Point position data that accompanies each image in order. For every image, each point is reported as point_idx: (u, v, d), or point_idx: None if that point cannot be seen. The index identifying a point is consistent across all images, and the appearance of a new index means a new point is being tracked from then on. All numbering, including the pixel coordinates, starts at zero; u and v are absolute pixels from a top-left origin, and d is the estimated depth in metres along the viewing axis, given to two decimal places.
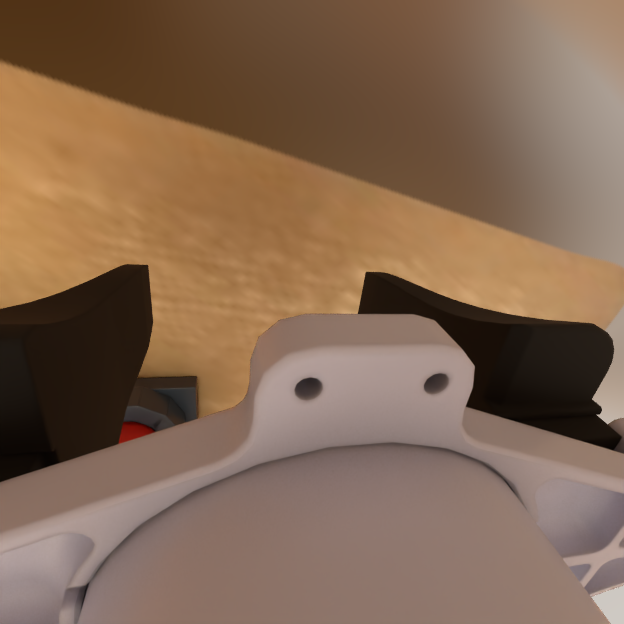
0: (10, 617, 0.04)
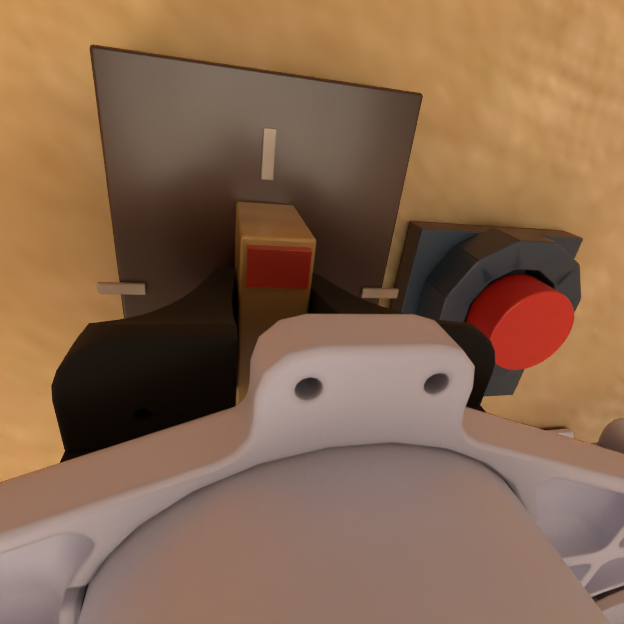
0: (10, 616, 0.04)
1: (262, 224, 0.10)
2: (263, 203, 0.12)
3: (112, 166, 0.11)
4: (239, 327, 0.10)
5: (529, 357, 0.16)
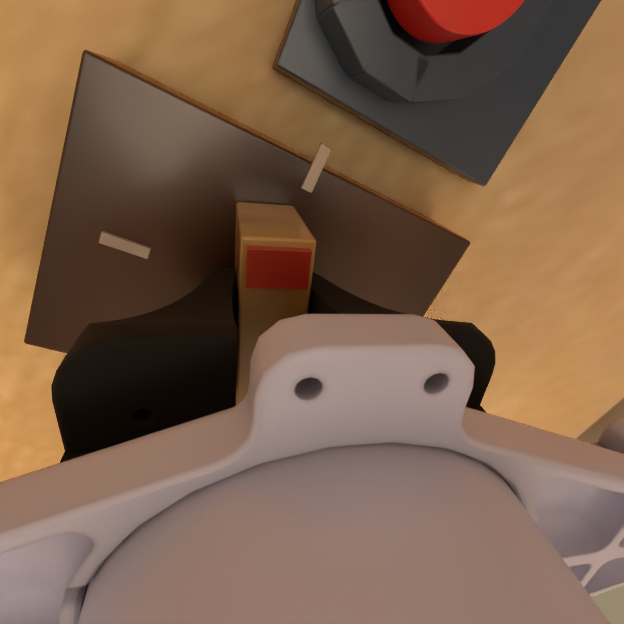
0: (9, 617, 0.04)
1: (262, 225, 0.10)
2: None
3: None
4: (239, 328, 0.10)
5: None
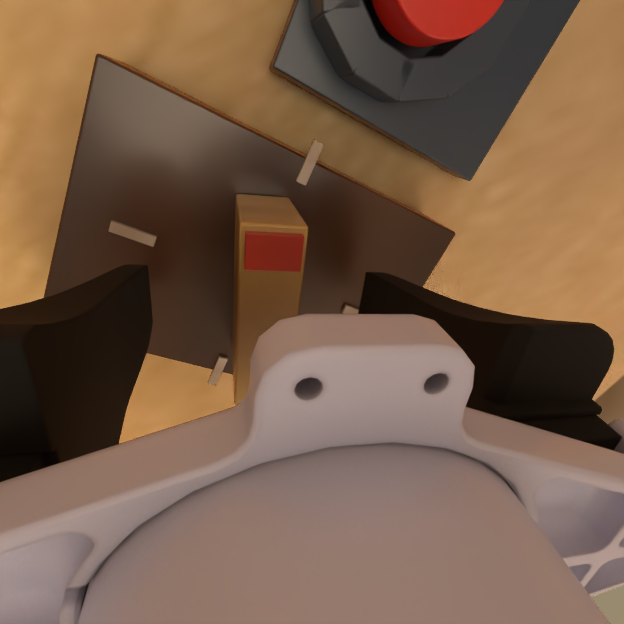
0: (8, 617, 0.04)
1: (259, 213, 0.11)
2: None
3: None
4: (238, 307, 0.11)
5: None
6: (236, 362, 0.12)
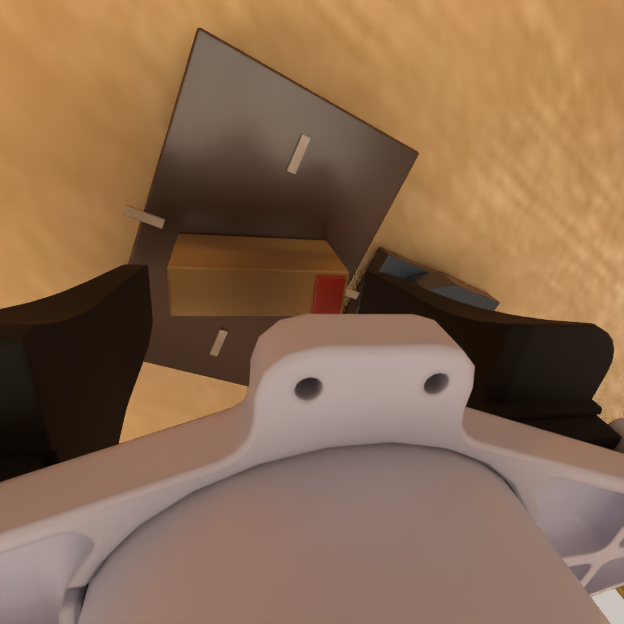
0: (9, 617, 0.04)
1: None
2: None
3: (177, 119, 0.13)
4: (280, 270, 0.13)
5: None
6: (222, 268, 0.12)
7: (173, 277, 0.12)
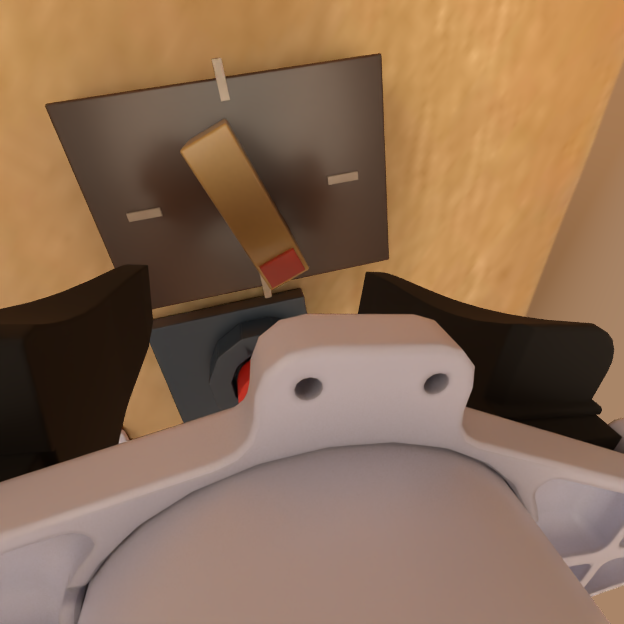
0: (8, 617, 0.04)
1: None
2: None
3: (314, 69, 0.15)
4: (279, 218, 0.14)
5: None
6: (252, 170, 0.13)
7: (219, 133, 0.13)
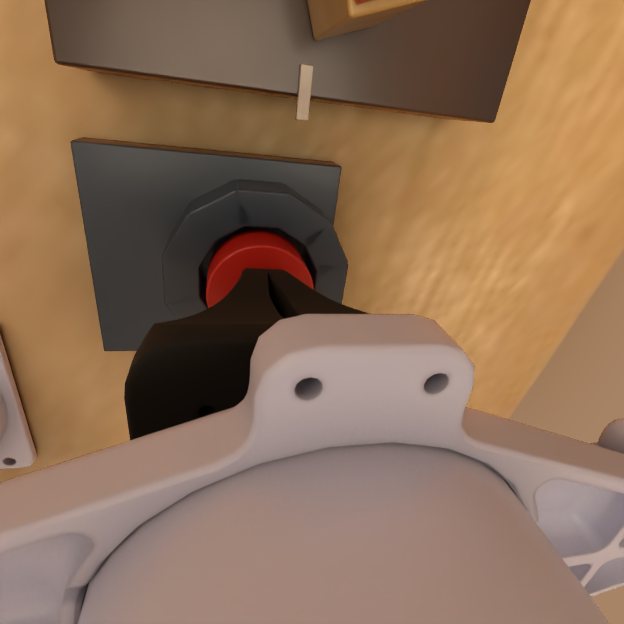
0: (8, 618, 0.04)
1: (388, 14, 0.09)
2: None
3: None
4: None
5: None
6: None
7: None
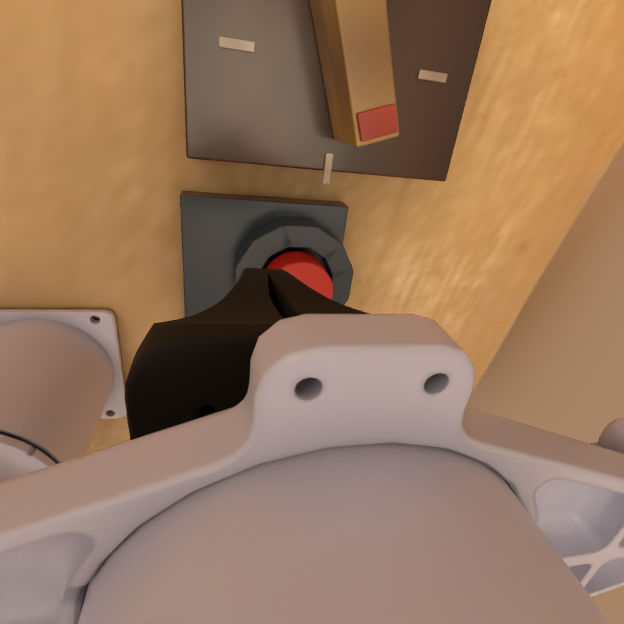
0: (9, 617, 0.04)
1: None
2: None
3: None
4: None
5: None
6: (385, 0, 0.13)
7: None
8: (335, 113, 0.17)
